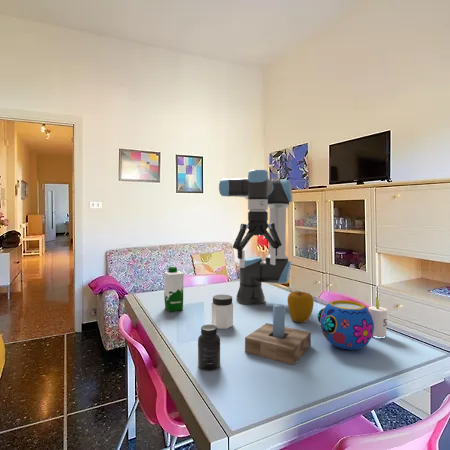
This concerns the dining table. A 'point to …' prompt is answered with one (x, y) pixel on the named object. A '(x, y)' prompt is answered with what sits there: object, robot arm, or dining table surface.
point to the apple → (300, 306)
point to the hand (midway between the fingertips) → (257, 265)
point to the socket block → (278, 344)
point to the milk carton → (173, 289)
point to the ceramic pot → (346, 324)
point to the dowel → (279, 321)
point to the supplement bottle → (209, 348)
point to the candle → (379, 319)
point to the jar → (222, 311)
